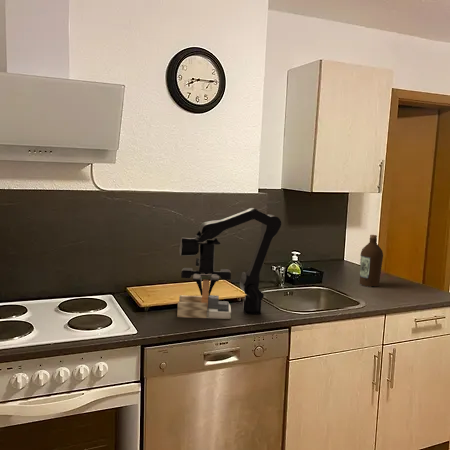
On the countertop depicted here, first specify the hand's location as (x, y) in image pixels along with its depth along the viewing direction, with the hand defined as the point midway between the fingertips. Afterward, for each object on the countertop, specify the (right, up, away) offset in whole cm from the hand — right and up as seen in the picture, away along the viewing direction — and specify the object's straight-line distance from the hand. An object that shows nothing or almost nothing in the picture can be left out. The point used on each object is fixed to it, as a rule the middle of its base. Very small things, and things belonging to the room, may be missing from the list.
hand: (205, 295), depth 184 cm
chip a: (+5, -5, +1) cm, 7 cm away
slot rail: (-5, -7, +1) cm, 9 cm away
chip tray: (+5, -7, +1) cm, 9 cm away
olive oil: (+79, -3, +55) cm, 96 cm away
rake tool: (0, -4, +1) cm, 4 cm away
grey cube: (+3, -5, +1) cm, 5 cm away
